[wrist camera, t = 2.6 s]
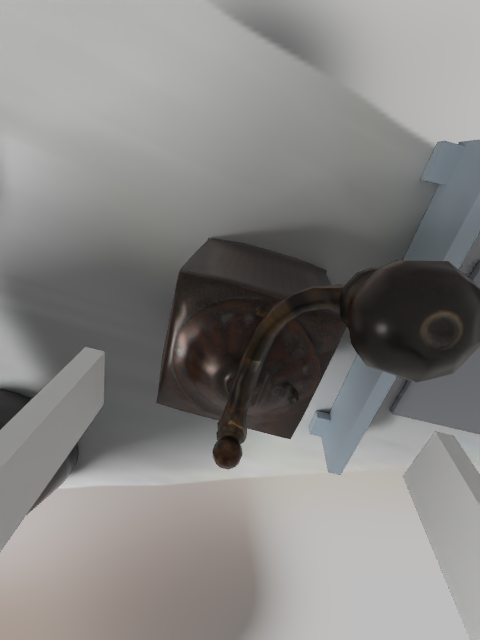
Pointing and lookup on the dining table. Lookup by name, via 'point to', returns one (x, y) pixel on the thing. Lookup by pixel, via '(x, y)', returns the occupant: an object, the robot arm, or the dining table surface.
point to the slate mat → (446, 394)
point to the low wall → (428, 244)
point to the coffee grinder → (301, 333)
